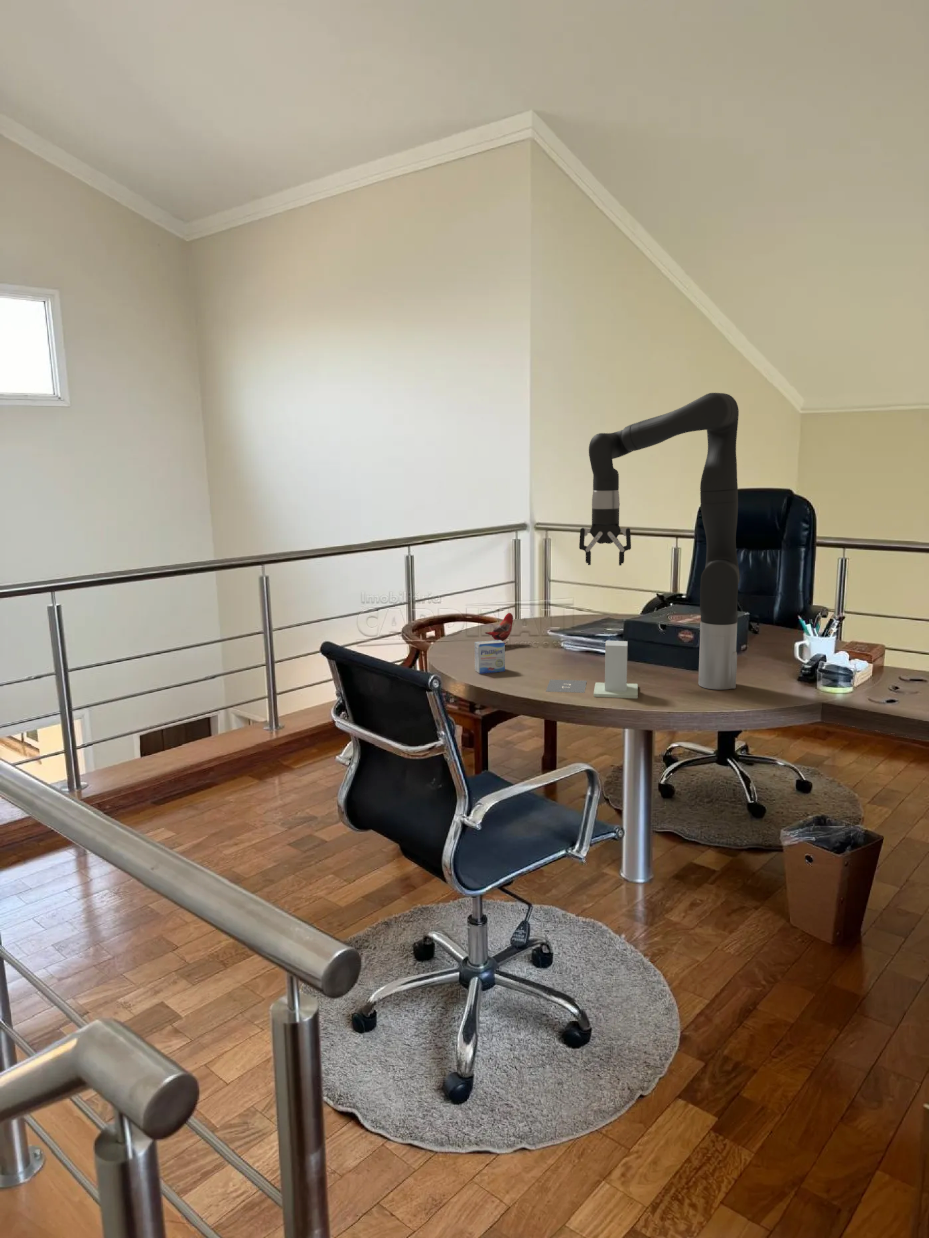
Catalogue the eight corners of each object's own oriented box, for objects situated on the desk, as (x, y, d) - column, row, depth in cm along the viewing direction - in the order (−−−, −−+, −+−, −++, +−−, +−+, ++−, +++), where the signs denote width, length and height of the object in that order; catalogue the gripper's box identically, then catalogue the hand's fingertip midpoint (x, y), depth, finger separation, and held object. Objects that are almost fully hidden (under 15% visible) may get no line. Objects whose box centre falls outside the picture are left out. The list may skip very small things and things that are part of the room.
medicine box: (478, 674, 246) (478, 644, 244) (474, 670, 250) (474, 641, 248) (505, 671, 248) (505, 642, 246) (500, 668, 252) (500, 639, 250)
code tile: (586, 681, 236) (586, 680, 236) (584, 693, 224) (584, 692, 224) (550, 680, 238) (550, 679, 238) (545, 692, 226) (545, 691, 226)
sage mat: (637, 687, 229) (637, 683, 229) (637, 699, 218) (637, 695, 218) (595, 686, 231) (595, 682, 231) (593, 697, 221) (593, 693, 220)
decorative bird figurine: (517, 641, 287) (517, 612, 285) (489, 652, 272) (488, 621, 270) (509, 640, 288) (509, 611, 286) (481, 651, 274) (480, 620, 272)
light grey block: (626, 686, 227) (627, 641, 225) (626, 691, 222) (627, 645, 219) (605, 685, 228) (606, 640, 226) (604, 691, 223) (605, 645, 220)
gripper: (578, 507, 238) (578, 566, 241) (631, 507, 235) (630, 567, 238) (580, 506, 245) (580, 563, 248) (631, 505, 242) (630, 563, 245)
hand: (604, 565), depth 243 cm, fingers open, 8 cm apart
